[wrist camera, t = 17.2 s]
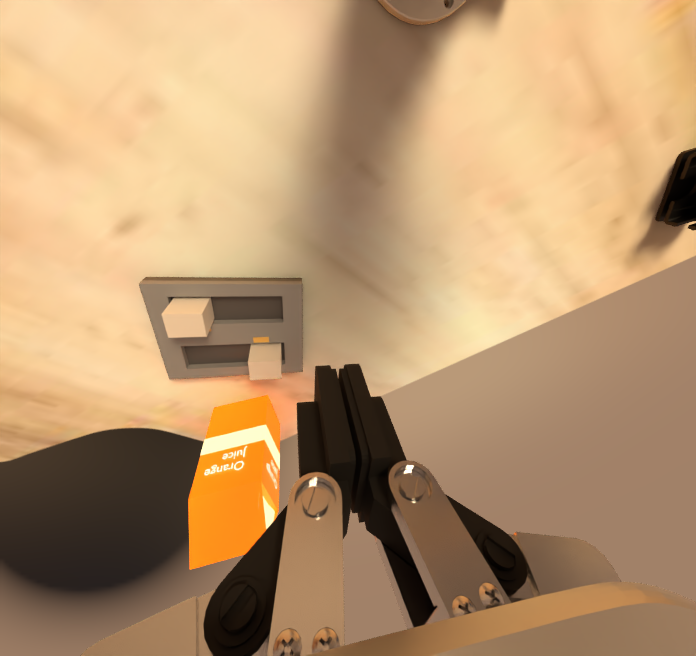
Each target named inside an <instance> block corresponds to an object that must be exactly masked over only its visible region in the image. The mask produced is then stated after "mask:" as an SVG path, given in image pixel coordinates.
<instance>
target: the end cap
mask: <svg viewBox="0 0 696 656" xmlns="http://www.w3.org/2000/svg"><path fill="white" fill-rule="evenodd" d="M655 220H656V221H664V222H665V223H666V224H668V225H672V226H679V225H682V224H686V223H689V222H692V221H696V148H693V149H690V150H687V151H683V152H681V153H680V154H679V156H678V157H677V160H676V163H675V165H674V168H673V171H672V174H671V176H670V179H669V182H668V185H667V188H666V190H665V193H664V196H663V199H662V201H661V204H660V207H659V210H658V212H657V215H656V218H655ZM688 228H689V229H691V230H696V223H695V224H692V225H689V226H688Z"/></svg>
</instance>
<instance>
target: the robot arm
mask: <svg viewBox="0 0 696 656" xmlns="http://www.w3.org/2000/svg"><path fill="white" fill-rule="evenodd" d="M378 1H379V2H380V3H381V4H382V6H383V7H384V8H385V9H386V10H387V11H388V12H389V13H391V14H392V15H394V16H395V17H397V18H398V19H400V20H402V21H405V22H408V23H411V24H419V25H426V24H430V23H435V22H438V21H440V20H442V19H444V18H446V17H448V16H449V15H451V14H452V13H453V12H454V11H456V10H457V9H458V8H460V7H461V6H462V5H463V4H464V3H465V2H466V1H467V0H378ZM444 2H445V3H446V7H445V5H444ZM297 430H298V454H299V476H300V479H298V480H297V481H296V482H295V484H294V486H293V487H292V489H291V491H290V495H289V500H288V505H287V506H286V507H285V508H284V509H283V511H282V512H281V513H280V514H279V515H278V517H277V518H276V519H275V520H274V521H273V522H272V524H271V525H270V526H269V527H268V528H267V529H266V531H265V532H264V533H263V534H262V535H261V536H260V538H259V539H258V540H257V541H256V542H255V544H254V545H253V546H252V547H251V548H250V549H249V551H248V552H247V553H246V554H245V555H244V556H243V558H242V559H241V560H240V561H239V562H238V563H237V565H236V566H235V567H234V568H233V570H232V571H231V572H230V573H229V574H228V575H227V576H226V578H225V579H224V580H223V581H222V582H221V583H220V585H219V586H218V588H217V589H215V590H213V591H211V592H209V593H207V594H205V595H203V596H201V597H199V598H197V597H196V596H194V597H191V598H189V599H187V600H185V601H183V602H181V603H179V604H177V605H174V606H172V607H170V608H168V609H166V610H164V611H162V612H159V613H157V614H155V615H153V616H151V617H149V618H147V619H145V620H142V621H140V622H138V623H136V624H134V625H132V626H130V627H128V628H126V629H123V630H121V631H119V632H117V633H115V634H113V635H110V636H108V637H106V638H104V639H102V640H100V641H99V642H97V643H95V644H94V645H93V646H91V647H89V648H88V649H86V650H85V651H84V652H83V653H82V654H81V655H80V656H696V602H695V601H693V600H691V599H688V598H686V597H684V596H681V595H679V594H677V593H675V592H671V591H669V590H666V589H662V588H659V587H656V586H652V585H647V584H642V583H635V582H621V580H620V578H619V577H618V575H617V573H616V572H615V570H614V568H613V567H612V565H611V564H610V563H609V561H608V560H607V559H606V557H605V556H604V555H603V554H602V553H601V552H600V551H599V550H598V549H597V548H595V547H594V546H592V545H591V544H589V543H587V542H586V541H583V540H580V539H577V538H568V537H559V536H549V535H539V534H530V533H520V532H515V534H514V535H511V534H507V533H505V532H504V531H503V530H501V529H500V528H498V527H497V526H495V525H493V524H492V523H490V522H488V521H487V520H485V519H484V518H482V517H481V516H479V515H477V514H476V513H474V512H473V511H471V510H469V509H468V508H466V507H465V506H463V505H461V504H460V503H458V502H457V501H455V500H453V499H452V498H450V497H449V496H447V495H445V494H444V492H443V490H442V489H441V487H440V485H439V484H438V482H437V481H436V479H435V478H434V476H433V475H432V473H431V472H430V471H429V470H428V469H427V468H426V467H424V466H423V465H422V464H419V463H417V462H415V461H408V460H406V457H405V455H404V452H403V450H402V447H401V445H400V442H399V439H398V437H397V434H396V432H395V429H394V427H393V424H392V422H391V419H390V416H389V414H388V411H387V409H386V406H385V404H384V401H383V399H382V398H381V397H380V396H378V397H371V396H370V393H369V390H368V387H367V385H366V382H365V379H364V376H363V373H362V370H361V367H360V365H359V364H347V365H344V368H342V369H339V377H338V376H337V372H336V369H331V367H330V365H328V366H316V367H315V397H314V402H302V403H297ZM350 510H352V513H358V517H359V522H365V525H366V529H367V531H369V532H370V533H371V534H373V535H374V536H375V540H376V544H377V547H378V550H379V553H380V555H381V558H382V561H383V563H384V566H385V569H386V572H387V574H388V577H389V580H390V582H391V585H392V588H393V591H394V594H395V596H396V599H397V602H398V605H399V607H400V610H401V613H402V616H403V618H404V621H405V624H406V626H407V630H403V631H399V632H395V633H391V634H387V635H384V636H379V637H376V638H372V639H368V640H364V641H360V642H356V643H352V644H349V645H345V634H344V581H343V580H344V579H343V539H344V537H345V535H346V534H347V528H348V522H349V516H350Z"/></svg>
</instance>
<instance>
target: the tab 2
mask: <svg viewBox="0 0 696 656" xmlns="http://www.w3.org/2000/svg"><path fill="white" fill-rule="evenodd" d="M248 368H249V375H250V380H265V379H282V351H281V343H257V344H251V347H250V353H249V358H248Z"/></svg>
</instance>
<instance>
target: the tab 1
mask: <svg viewBox="0 0 696 656" xmlns="http://www.w3.org/2000/svg"><path fill="white" fill-rule="evenodd" d="M161 315H162V318H163V322H164V325H165V328H166V332H167V335H168V338H178V337H207V335H208V333H209V330H210V328H211V325H212V323H213V321H214V312H213V307H212V302H211V297H174V298H173V300H172V301H171V302H170V304H169V305H168V306H167V308H166V309H165V310H164V312H163V313H162V314H161Z"/></svg>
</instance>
